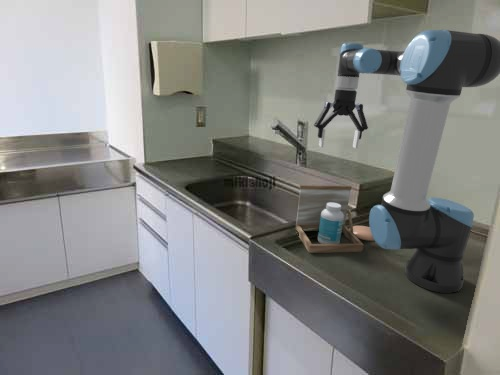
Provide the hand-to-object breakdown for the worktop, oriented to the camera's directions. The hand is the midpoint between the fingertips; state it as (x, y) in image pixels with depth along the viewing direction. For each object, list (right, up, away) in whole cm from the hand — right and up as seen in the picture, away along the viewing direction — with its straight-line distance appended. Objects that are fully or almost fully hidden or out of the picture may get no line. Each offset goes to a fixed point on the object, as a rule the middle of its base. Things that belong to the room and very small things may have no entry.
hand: (338, 147), depth 138 cm
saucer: (+8, -32, -7) cm, 33 cm away
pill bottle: (-7, -34, -15) cm, 38 cm away
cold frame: (-7, -33, -15) cm, 37 cm away
